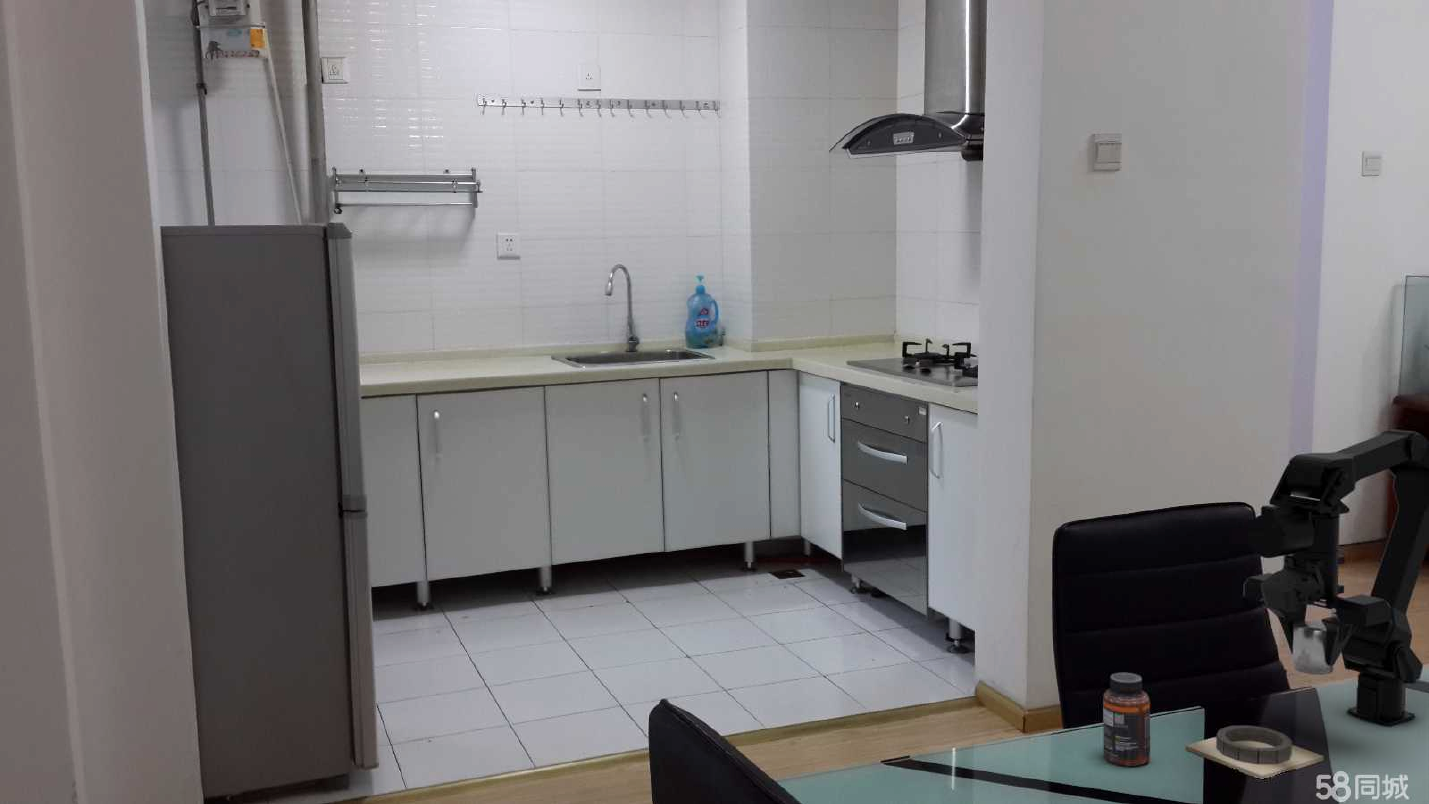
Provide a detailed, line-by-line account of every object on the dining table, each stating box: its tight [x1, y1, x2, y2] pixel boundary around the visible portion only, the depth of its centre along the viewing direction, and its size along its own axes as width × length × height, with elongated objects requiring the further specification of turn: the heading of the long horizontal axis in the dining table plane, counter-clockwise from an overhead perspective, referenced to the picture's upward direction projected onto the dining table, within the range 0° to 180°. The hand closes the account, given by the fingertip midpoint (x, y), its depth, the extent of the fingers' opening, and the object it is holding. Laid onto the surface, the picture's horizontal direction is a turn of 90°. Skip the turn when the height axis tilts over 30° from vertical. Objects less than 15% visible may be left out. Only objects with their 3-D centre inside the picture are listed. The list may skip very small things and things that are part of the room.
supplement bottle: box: [1102, 672, 1151, 767], centre depth 166 cm, size 6×6×11 cm
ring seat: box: [1185, 725, 1324, 780], centre depth 166 cm, size 12×12×2 cm
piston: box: [1292, 620, 1334, 676], centre depth 170 cm, size 5×5×6 cm
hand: (1312, 660), depth 171 cm, fingers closed on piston, 5 cm apart
